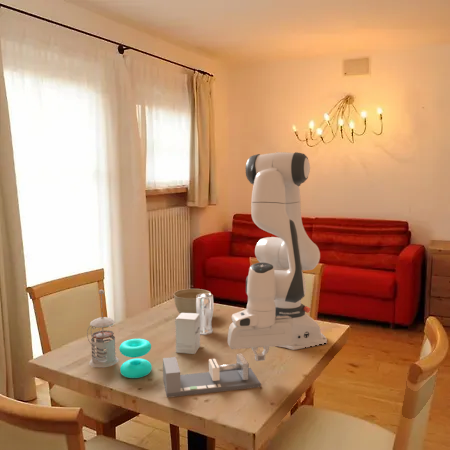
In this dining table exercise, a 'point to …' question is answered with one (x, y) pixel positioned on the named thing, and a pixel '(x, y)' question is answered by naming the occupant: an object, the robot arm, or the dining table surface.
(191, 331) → the supplement box
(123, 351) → the donuts
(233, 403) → the dining table surface
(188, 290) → the planter bowl
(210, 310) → the beer glass
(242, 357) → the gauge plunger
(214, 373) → the gauge pointer
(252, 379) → the frame
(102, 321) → the french press
